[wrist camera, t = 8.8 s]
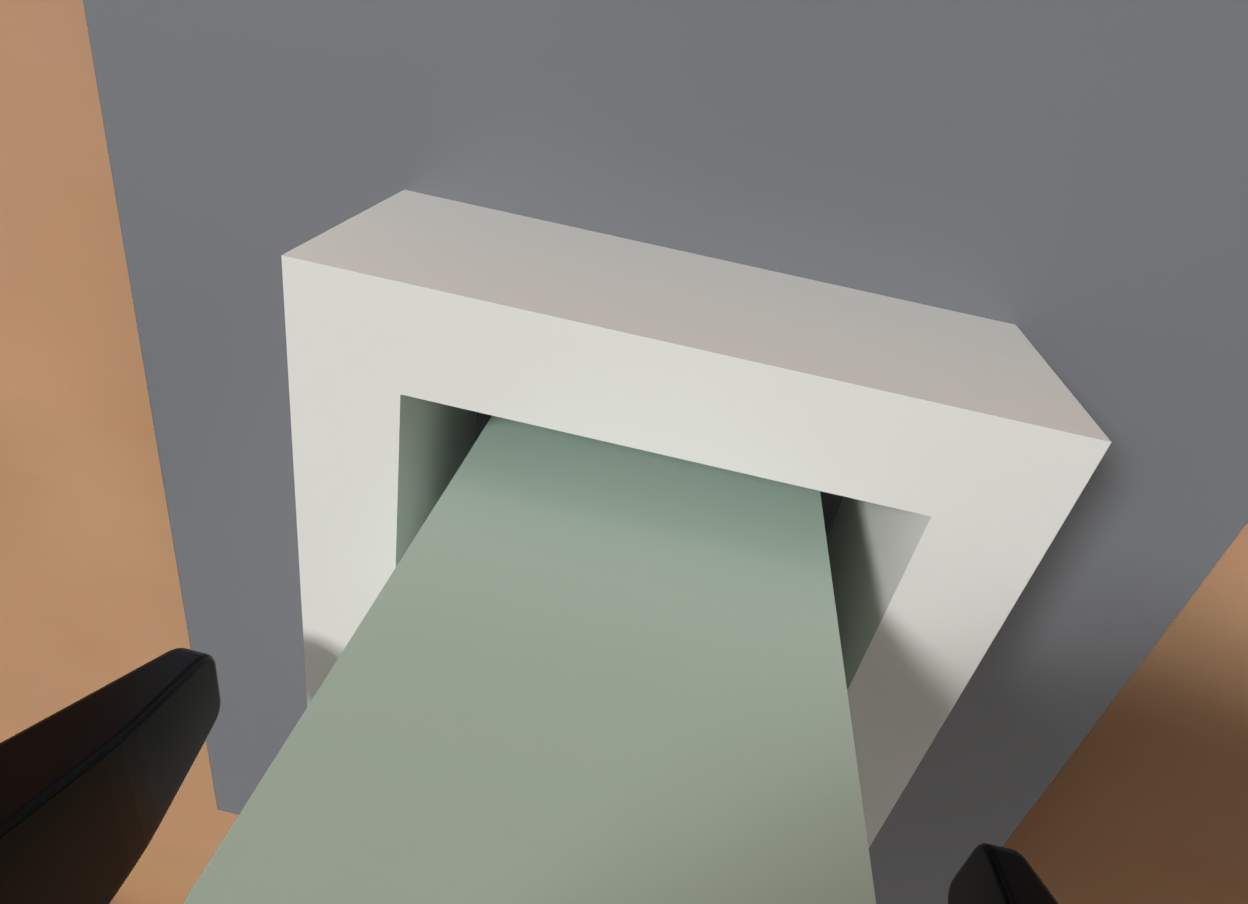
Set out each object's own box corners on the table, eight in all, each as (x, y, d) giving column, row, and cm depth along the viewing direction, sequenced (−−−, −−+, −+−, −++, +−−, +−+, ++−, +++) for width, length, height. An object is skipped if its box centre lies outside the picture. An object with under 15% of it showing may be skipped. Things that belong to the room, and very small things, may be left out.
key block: (810, 419, 11) (962, 1513, 3) (709, 708, 14) (653, 1603, 6) (529, 356, 11) (-30, 1240, 3) (492, 655, 14) (169, 1467, 6)
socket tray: (896, 952, 18) (927, 1152, 15) (232, 786, 18) (126, 945, 15) (1650, -93, 7) (2301, -165, 4) (59, -408, 8) (-387, -671, 5)
